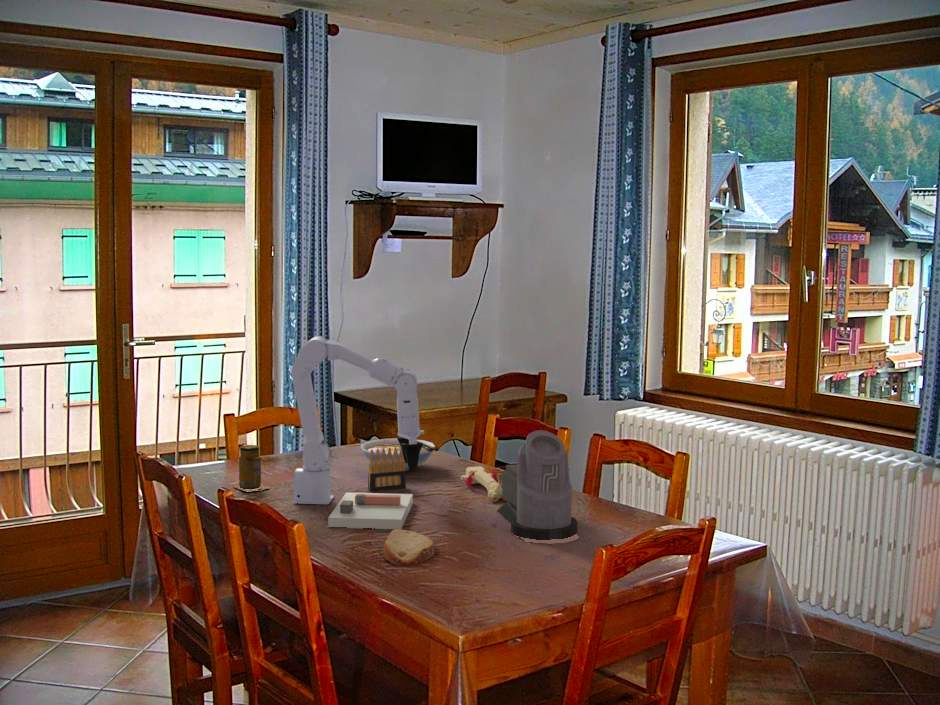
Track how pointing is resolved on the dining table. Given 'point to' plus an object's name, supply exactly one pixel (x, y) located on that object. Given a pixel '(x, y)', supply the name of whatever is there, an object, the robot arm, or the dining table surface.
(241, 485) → the condiment
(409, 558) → the bread slice
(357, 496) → the bar
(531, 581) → the dining table surface
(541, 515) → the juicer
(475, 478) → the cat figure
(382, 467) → the ammunition clip
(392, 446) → the ramen bowl
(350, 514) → the pale square platform
